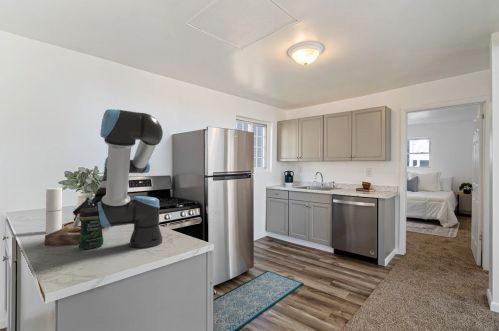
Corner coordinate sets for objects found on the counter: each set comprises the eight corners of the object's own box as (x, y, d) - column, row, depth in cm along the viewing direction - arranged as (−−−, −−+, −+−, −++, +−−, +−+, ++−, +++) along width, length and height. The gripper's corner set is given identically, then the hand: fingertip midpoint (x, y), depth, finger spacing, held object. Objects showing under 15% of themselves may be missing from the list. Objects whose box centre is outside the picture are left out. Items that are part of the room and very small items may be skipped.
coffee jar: (80, 251, 108) (80, 210, 108) (77, 247, 114) (77, 207, 114) (105, 246, 115) (104, 207, 115) (101, 242, 121) (100, 205, 121)
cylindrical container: (52, 234, 135) (53, 189, 135) (42, 233, 136) (42, 189, 136) (64, 230, 142) (65, 188, 142) (54, 230, 143) (55, 187, 143)
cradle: (96, 235, 133) (96, 226, 133) (80, 244, 118) (80, 234, 118) (65, 236, 131) (65, 227, 131) (44, 245, 116) (45, 235, 116)
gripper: (131, 195, 132) (120, 230, 117) (82, 196, 129) (64, 231, 114) (128, 187, 127) (115, 222, 112) (76, 187, 124) (57, 223, 109)
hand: (89, 227), depth 113 cm, fingers open, 13 cm apart
